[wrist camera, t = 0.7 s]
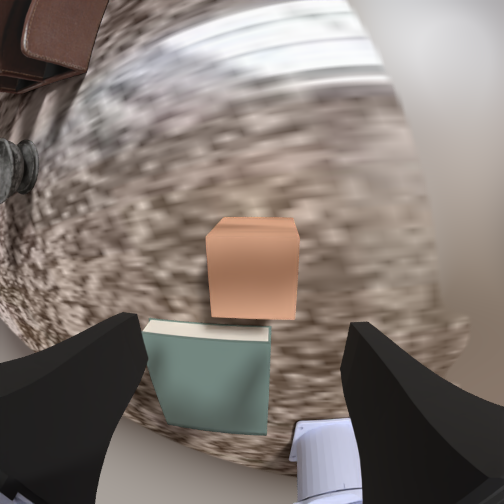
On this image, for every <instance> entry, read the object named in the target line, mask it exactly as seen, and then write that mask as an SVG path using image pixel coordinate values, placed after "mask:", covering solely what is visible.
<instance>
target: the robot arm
mask: <svg viewBox="0 0 504 504" xmlns="http://www.w3.org/2000/svg"><path fill="white" fill-rule="evenodd" d="M148 359H149V358H148V355H147V351H146V347H145V344H144V340H143V336H142V332H141V328H140V324H139V320H138V316H137V314H134V313H126V312H122V313H119V314H117V315H115V316H112V317H110V318H108V319H106V320H104V321H102V322H100V323H98V324H96V325H94V326H92V327H90V328H88V329H87V330H85V331H83V332H81V333H79V334H77V335H75V336H73V337H71V338H69V339H66V340H64V341H62V342H60V343H58V344H56V345H54V346H52V347H49V348H47V349H45V350H42V351H40V352H37V353H34V354H31V355H29V356H25V357H22V358H18V359H15V360H11V361H7V362H3V363H0V504H95V499H96V492H97V487H98V482H99V477H100V473H101V469H102V466H103V462H104V458H105V455H106V452H107V449H108V446H109V443H110V441H111V438H112V435H113V433H114V431H115V428H116V426H117V424H118V422H119V420H120V418H121V417H122V415H123V413H124V411H125V409H126V407H127V405H128V404H129V402H130V400H131V398H132V396H133V394H134V392H135V391H136V389H137V387H138V385H139V383H140V381H141V378H142V376H143V373H144V371H145V368H146V365H147V362H148ZM340 371H341V379H342V386H343V393H344V397H345V401H346V405H347V408H348V412H349V416H350V418H340V419H328V420H309V421H298V422H297V423H296V427H295V433H294V437H293V442H292V447H291V452H290V456H289V461H297V485H298V486H297V487H298V502H296V503H293V504H504V407H503V406H500V405H497V404H494V403H491V402H489V401H486V400H484V399H482V398H479V397H477V396H475V395H473V394H470V393H468V392H466V391H464V390H462V389H461V388H459V387H457V386H455V385H453V384H452V383H450V382H448V381H447V380H445V379H443V378H441V377H440V376H438V375H437V374H435V373H434V372H432V371H431V370H429V369H428V368H427V367H425V366H424V365H422V364H421V363H420V362H418V361H417V360H416V359H414V358H413V357H412V356H410V355H409V354H408V353H406V352H405V351H404V350H403V349H401V348H400V347H399V346H398V345H396V344H395V343H394V342H393V341H392V340H390V339H389V338H388V337H387V336H385V335H384V334H383V333H382V332H381V331H379V330H378V329H377V328H376V327H374V326H373V325H372V324H370V323H369V322H350V327H349V332H348V337H347V341H346V346H345V350H344V355H343V359H342V363H341V367H340Z"/></svg>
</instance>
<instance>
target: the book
mask: <svg viewBox="0 0 504 504" xmlns="http://www.w3.org/2000/svg"><path fill="white" fill-rule="evenodd" d="M141 332H142V336H143V340H144V344H145V347H146V351H147V355H148V358H149V359H148V362H147V367H148V370H149V373H150V376H151V380H152V383H153V386H154V389H155V391H156V394H157V397H158V400H159V403H160V405H161V408H162V411H163V413H164V416H165V418H166V421H167V424H168V425H173V426H179V427H185V428H191V429H197V430H204V431H212V432H221V433H231V434H244V435H264V436H267V418H268V399H269V377H270V352H271V326H251V325H228V324H211V323H197V322H184V321H173V320H163V319H153V318H149V323H148V324H147V326H146V327H145V329H144V330H143V331H141Z"/></svg>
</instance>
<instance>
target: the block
mask: <svg viewBox="0 0 504 504" xmlns="http://www.w3.org/2000/svg"><path fill="white" fill-rule="evenodd" d="M299 241H300V237H299V234H298V232H297V229H296V226H295V223H294V220H293V218H279V217H223V219H222V220H221V221H220V222H219V223H218V224H217V225H216V226H215V227H214V228H213V229H212V230H211V232H210V233H209V234H208V235H207V236H206V250H207V265H208V279H209V291H210V303H211V314H212V317H224V318H246V319H288V320H295V311H296V297H297V281H298V263H299Z"/></svg>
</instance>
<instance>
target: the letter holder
mask: <svg viewBox="0 0 504 504" xmlns="http://www.w3.org/2000/svg"><path fill="white" fill-rule="evenodd" d="M108 1H109V0H0V92H6V93H14V94H23V93H25V92H28V91H31V90H33V89H36V88H38V87H41V86H44V85H47V84H50V83H53V82H56V81H59V80H62V79H66V78H69V77H72V76H76V75H79V74H83V73H86V72H87V67H88V63H89V59H90V57H91V51H92V48H93V44H94V42H95V38H96V35H97V32H98V28H99V26H100V22H101V20H102V17H103V14H104V11H105V9H106V6H107V3H108Z"/></svg>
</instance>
